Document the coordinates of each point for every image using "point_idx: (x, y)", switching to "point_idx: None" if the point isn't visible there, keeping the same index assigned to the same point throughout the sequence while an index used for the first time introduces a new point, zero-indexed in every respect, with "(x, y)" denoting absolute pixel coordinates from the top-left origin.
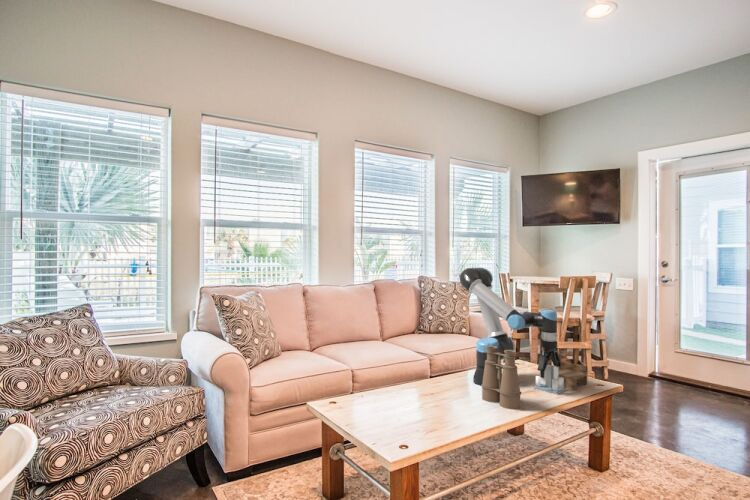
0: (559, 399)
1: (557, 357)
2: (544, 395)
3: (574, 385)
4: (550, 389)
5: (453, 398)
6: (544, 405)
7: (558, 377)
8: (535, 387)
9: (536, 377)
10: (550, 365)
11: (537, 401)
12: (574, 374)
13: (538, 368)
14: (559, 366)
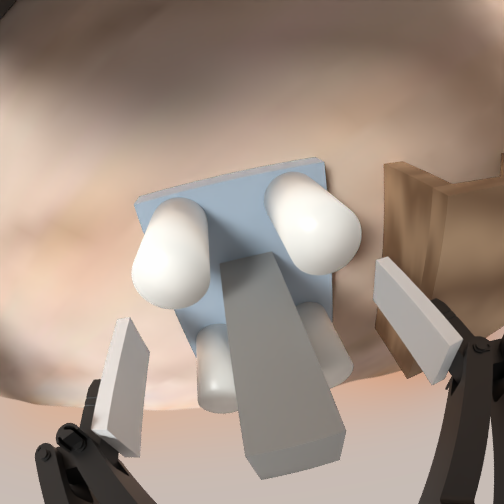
0: (147, 389)
1: (496, 455)
2: (109, 330)
3: (387, 341)
4: (201, 319)
5: None
6: (38, 390)
7: (331, 363)
8: (141, 217)
9: (134, 269)
10: (320, 455)
11: (28, 359)
12: (481, 318)
13: (41, 464)
14: (446, 386)
